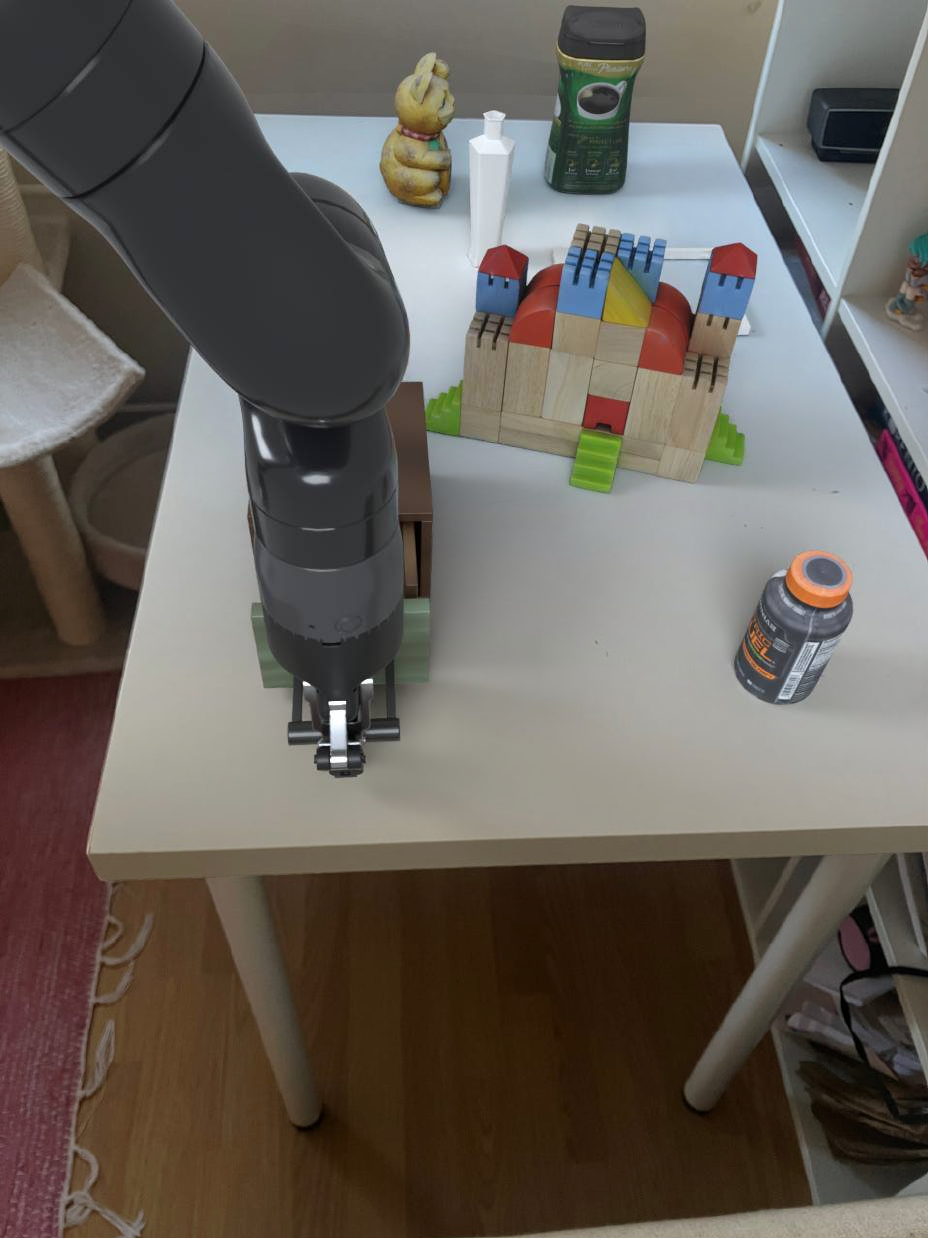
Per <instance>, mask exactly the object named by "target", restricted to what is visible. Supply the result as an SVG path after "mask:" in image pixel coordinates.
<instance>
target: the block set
mask: <svg viewBox="0 0 928 1238" xmlns="http://www.w3.org/2000/svg"><path fill="white" fill-rule="evenodd" d="M635 237H636V236H635V234H634V233H629V232H623V233H622V231H621V230H619V229H613V228H609V231H608V233H607V229H606V227H602V226H597V225H593V227H592V229H591V230H590V225H589V224H586V223H582V222H581V223H579V222H578V223H577V225H576V228H575V231H574V233H573V236H572V239H571V241H570V245H569V247H568V248H569V250H568V254H567V257H566V260H565V263H560V264H554V265H553V264H552V265H549V266H547V267H544V268H543V269H540V270H539V271H538V272H536V274H534V275H533V276H532V278H531V279H530V280H529V282H528V271H529V265H530V264H529V263H530V257H529V256H528V255H526V254H524V253H523V252H521V251H519V250H517V249H516V248H513V247H511V246H509V245H508V244H501V246H497V247H494V248H490V249H488V250H487V252H486V254H485V256H484V258H483V260H482V262H481V264H480V266H479V267H478V269H477V274H476V287H475V288H476V289H475V306H474V309H475V312H474V313H473V316H472V320H471V321H470V324H469V327H468V329H467V332H466V334H465V344H464V355H463V356H464V359H463V371H462V372H463V374H462V379H460V381H459V382H458V385H457V386H453V385H450V386H449V389H448V391H447V392H444V391H440V393H439V395H438V397H437V398H434V397H432V398H430V399H429V400H428V402H427V405H426V407H425V418H426V431H431V432H436V433H441V434H446V435H449V436H455V437H458V436H461V437H466V438H470V439H476V440H481V441H485V442H491V443H497V444H498V443H499V444H503V445H507V446H511V447H516V448H517V447H518V448H522V449H527V450H532V451H537V452H543V453H549V454H552V455H553V454H554V455H558V456H562V457H567V458H574V462H573V467H572V471H571V475H570V480H569V485H570V486H572V487H576V488H581V489H585V490H590V491H596V492H600V493H606V494H610V493H611V491H612V485H613V481H614V477H615V474H616V469H617V468H620V469H625V470H630V471H634V472H640V473H645V474H650V475H655V476H657V477H660V478H665V479H671V480H674V481H681V482H686V483H691V484H696V483H697V482H698V480H699V477H700V474H701V471H702V467H703V465H704V461H705V460H707V461H713V462H717V463H723V464H728V465H733V466H739V467H740V466H741V465H742V463H743V461H744V455H745V439H746V436H745V434H744V433H740V432H737V431H738V425H737V424H736V423H730V415H729V414H725V413H722V409H723V408H722V402H723V399H724V396H725V393H726V389H727V387H728V381H729V378H728V377H729V374H730V373H729V371H730V366H731V357H732V355H733V351H734V347H735V344H736V342H737V338H738V336H739V335H738V332H739V328H740V325H741V321H742V319H743V317H744V314H745V315H746V312H747V309H748V305H749V302H750V299H751V296H752V292H753V289H754V286H755V283H756V277H757V270H758V269H757V268H758V258H759V257H758V254H757V253H756V252H755V251H754V250H752V249H751V248H749V247H748V246H747V245H745V244H744V243H742V242H740V241H738V242H733V243H728V244H725V245H719V246H714V247H713V248H714V249H712V252H711V256H710V259H708V263H707V267H706V270H705V274H704V277H703V280H702V285H701V289H700V293H699V298H698V302H697V306H696V308H695V312H694V313H693V310H692V307H691V304H690V303H689V300H688V299H687V298H686V296H685V295H684V294H683V293H682V292H681V290H679V289H678V288H676V287H675V286H673V285H671V284H669V283H668V282H667V283H666V282H664V281H660V279H661V274H662V270H663V265H664V260H665V259H664V254H665V248H667V243H668V242H667V241H668V240H667V239H664V238H655V240H654V243H653V245H652V246H653V247H652V248H653V250H652V251H650V250H649V248H651V240H652V239H651V238H652V237H651V236H648V235H640V236H639V238H638V241H637V244H636V246H635V239H636V238H635Z"/></svg>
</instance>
